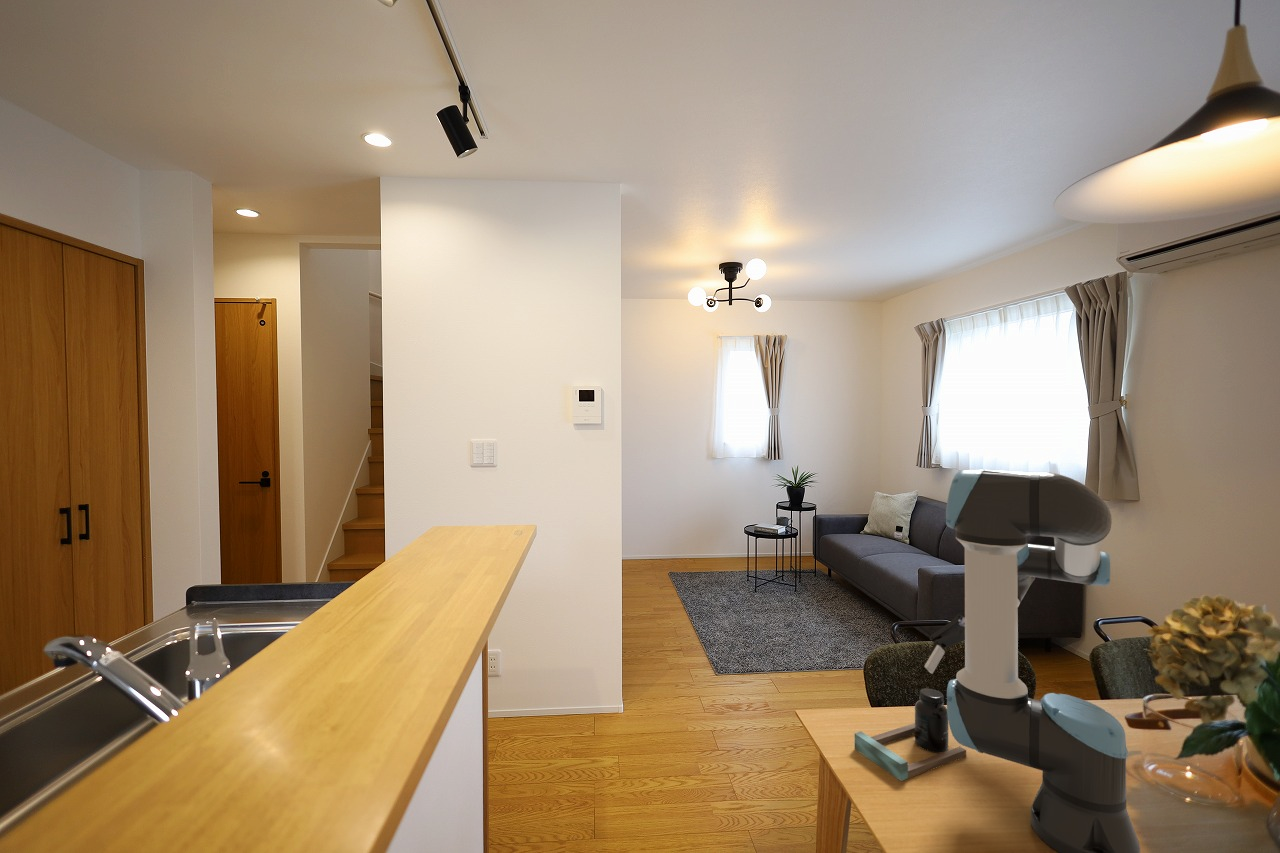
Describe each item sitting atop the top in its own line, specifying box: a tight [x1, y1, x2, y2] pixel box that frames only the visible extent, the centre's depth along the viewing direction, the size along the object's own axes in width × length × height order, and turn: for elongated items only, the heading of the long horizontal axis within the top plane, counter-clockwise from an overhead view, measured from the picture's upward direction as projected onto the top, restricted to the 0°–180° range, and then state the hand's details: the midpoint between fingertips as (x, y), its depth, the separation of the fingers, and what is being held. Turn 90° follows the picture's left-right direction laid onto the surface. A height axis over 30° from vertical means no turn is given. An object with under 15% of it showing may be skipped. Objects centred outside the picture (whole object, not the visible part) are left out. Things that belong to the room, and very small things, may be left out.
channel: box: [854, 722, 967, 782], centre depth 124 cm, size 12×20×4 cm, turn 114°
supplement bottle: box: [914, 687, 949, 754], centre depth 127 cm, size 7×7×12 cm
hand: (953, 682), depth 131 cm, fingers open, 13 cm apart
